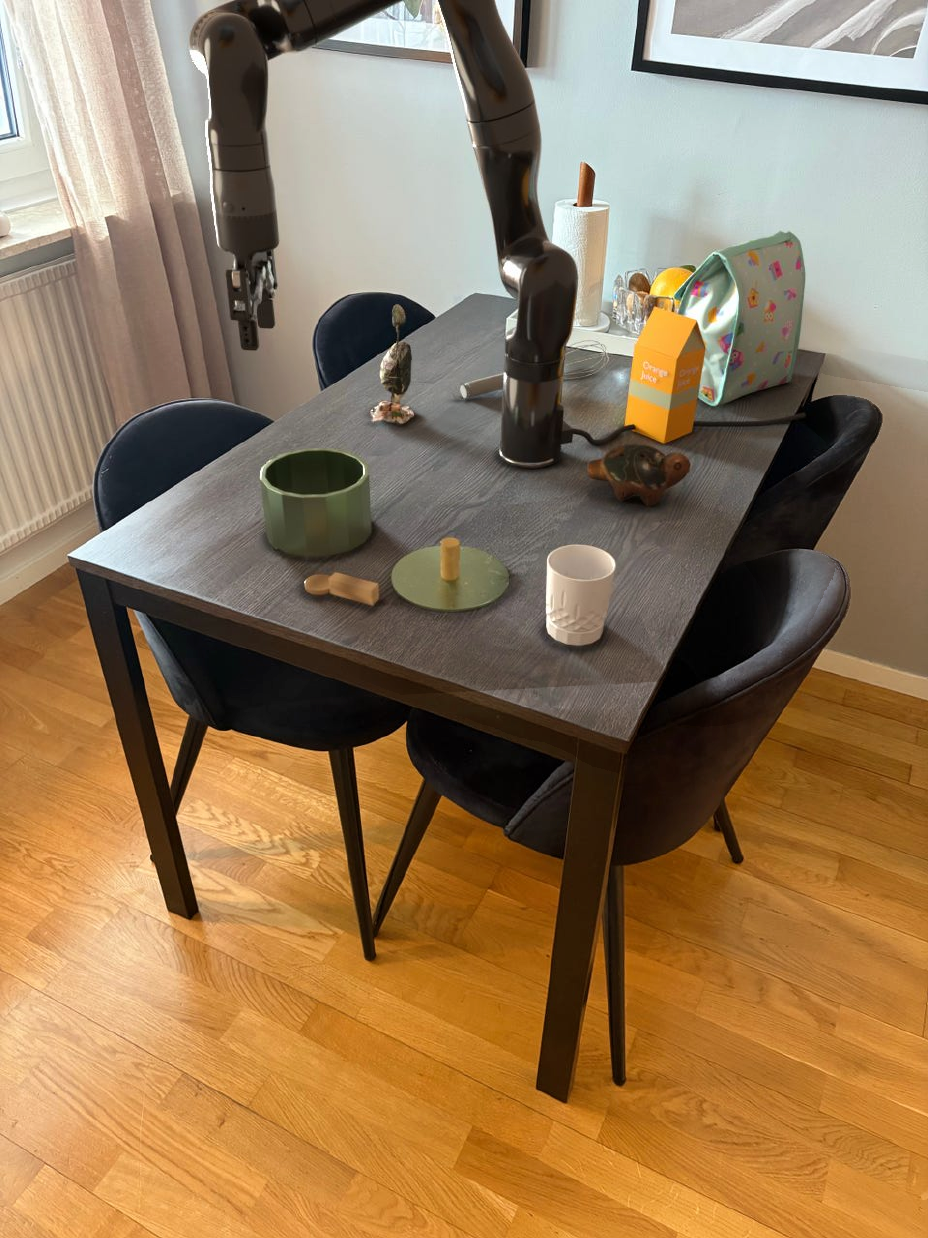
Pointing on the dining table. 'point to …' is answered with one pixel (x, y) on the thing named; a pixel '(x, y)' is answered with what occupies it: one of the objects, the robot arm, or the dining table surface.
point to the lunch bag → (747, 315)
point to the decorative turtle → (639, 471)
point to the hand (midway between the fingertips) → (258, 338)
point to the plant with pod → (395, 377)
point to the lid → (450, 578)
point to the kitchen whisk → (497, 380)
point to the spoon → (343, 587)
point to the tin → (316, 502)
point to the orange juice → (665, 376)
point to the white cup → (578, 593)
